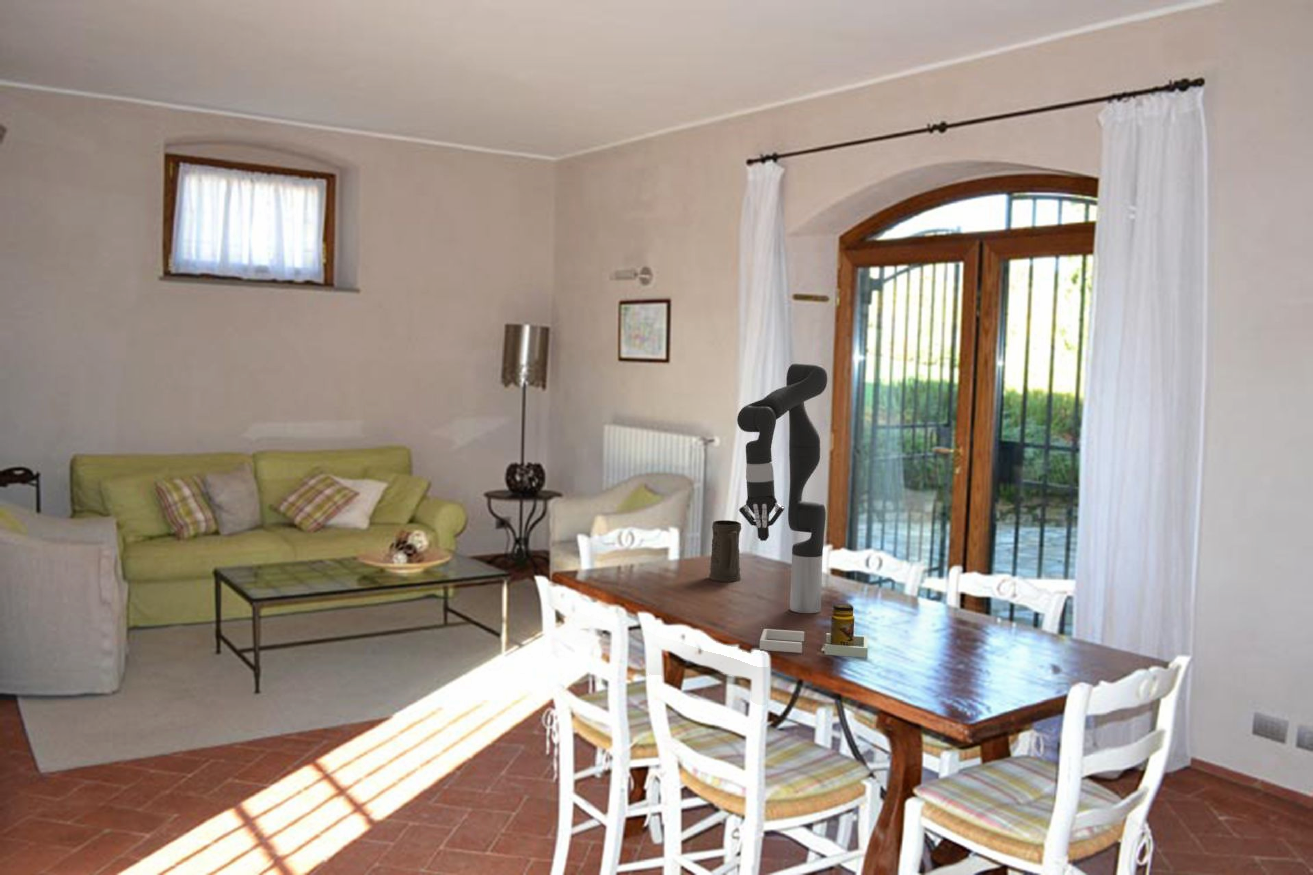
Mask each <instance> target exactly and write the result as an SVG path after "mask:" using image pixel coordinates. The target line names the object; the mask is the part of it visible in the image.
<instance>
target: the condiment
mask: <svg viewBox="0 0 1313 875" xmlns="http://www.w3.org/2000/svg"><path fill="white" fill-rule="evenodd" d="M832 608H833V610H832V615H831V619H830V621H831V623H830V624H831V625H830V634H831V639H830V643H826V642H824V643H823V644H822V648H821V652H825V644H830V645H843V646H854V645H853V640H854V635H855V633H854V632H855V616H854V606H853V605H851V604H849V603H835V604H834V605H833V607H832Z"/></svg>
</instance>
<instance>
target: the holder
mask: <svg viewBox="0 0 1313 875" xmlns="http://www.w3.org/2000/svg"><path fill="white" fill-rule="evenodd" d="M804 641H805V631H803V630H802V631H800V630H787V629H786V630H785V629H772V628H764V629H763V631H762V633H761V636H760V639H759V650H760V649H764V650H763V651H771V652H772V651H774V652H775V651H776V652H785V653H800V654H802V653H803V652H802V651H803V642H804Z"/></svg>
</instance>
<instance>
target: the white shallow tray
mask: <svg viewBox="0 0 1313 875" xmlns="http://www.w3.org/2000/svg"><path fill="white" fill-rule="evenodd" d="M825 635H826V638H825V639H826V640H825V643H828V644H825V651H824V655H825V656H826V655H827V656H840V657H852V658H853V657H855V658H863V659H864V658H865V659H866V658H868V657H869V656H868V655H869V648H868V647H869V644H868V643H869V642H868V641H869V640H868V639H869V637H868V635H856V634H854V640H853V646H843V645H830V639H831V632H830V633H828V632H827V633H826V634H825Z"/></svg>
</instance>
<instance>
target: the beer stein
mask: <svg viewBox="0 0 1313 875" xmlns="http://www.w3.org/2000/svg"><path fill="white" fill-rule="evenodd" d="M711 529H712V540H711V556H710V567H709V569H710V570H709V571H710V573H709V576H708V577H709V579H710V580H711V581H716V582H724V583H726V582H730V583H733V582H738V581H740V580H741V579H742V578H741V577H742V576H741V566H740V532H741V531H742V523H740V522H739V521H736V520H725V519H724V520H715V521H713V522H712V526H711Z"/></svg>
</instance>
